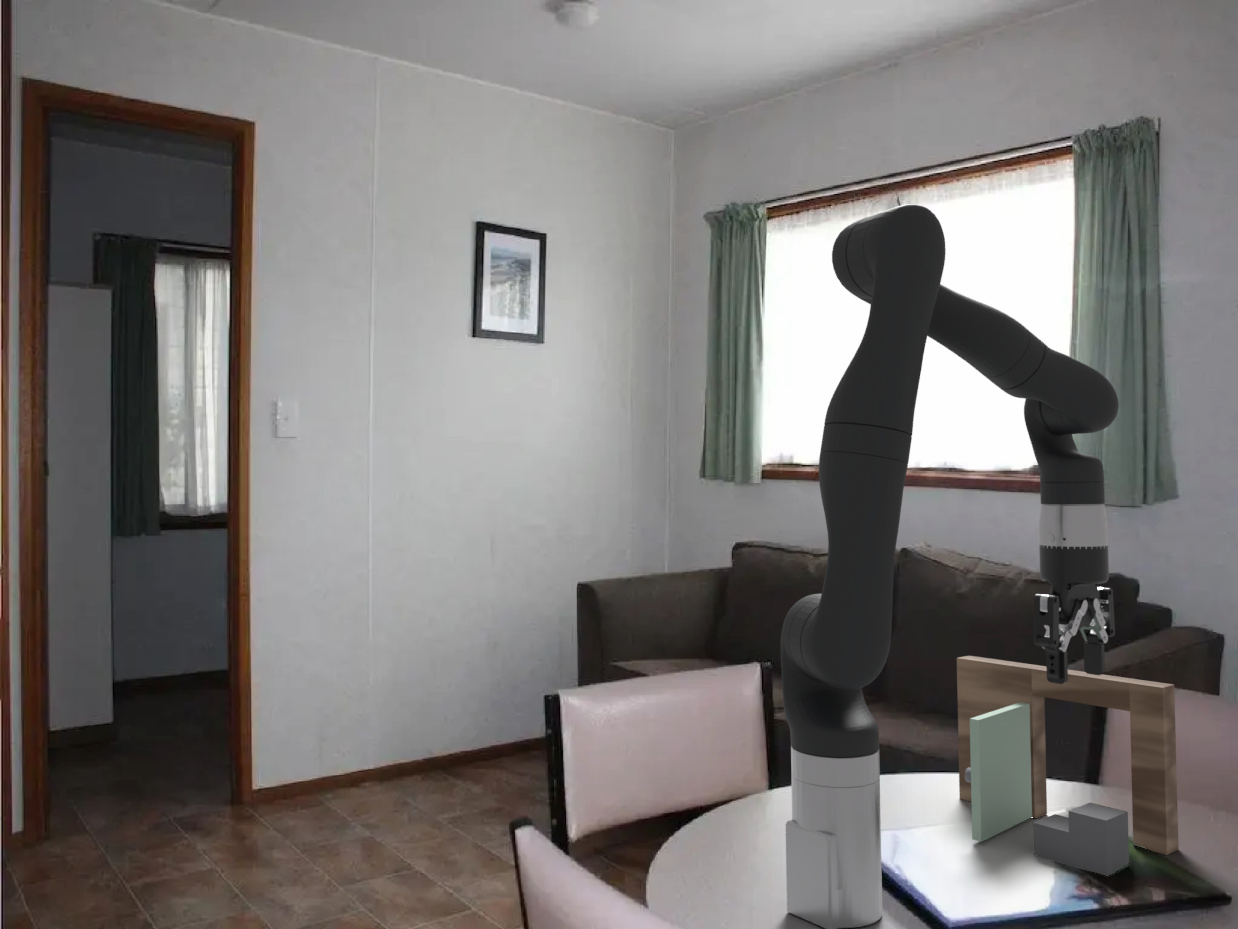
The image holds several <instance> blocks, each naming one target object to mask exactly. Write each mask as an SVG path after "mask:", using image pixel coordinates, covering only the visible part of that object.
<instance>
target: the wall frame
mask: <svg viewBox="0 0 1238 929" xmlns="http://www.w3.org/2000/svg"><path fill="white" fill-rule="evenodd" d="M956 684H957V689H956V690H957V691H956V692H957V693H956V694H957V731H958V733H957V734H958V736H957V738H958V781H959V783H958V784H959V786H958V787H959V799H960V800H962V801H965V802H966V801H967V802H971V783H970V782H966V780H965V771H966V769H967V768H968V767H970V768H971V756H970V718H973V717H976V716H979V715H982V714H986V713H989V712H992V711H995V710H998V709H1001V708H1004V707H1007V706H1010V705H1014V704H1017V703H1020V702H1023V703H1029V704H1030V749H1031V794H1032V817H1033V818H1037V819H1039V818H1041V817H1040V816H1042V817H1045V816H1047V815H1048V802H1047V801H1048V798H1047V793H1048V792H1047V761H1046V760H1047V759H1046V757H1047V754H1046V751H1047V750H1046V749H1047V748H1046V747H1047V746H1046V714H1045V713H1046V712H1045V711H1046V708H1045V706H1046V705H1045V698H1047V699H1048V698H1049V699H1053V700H1054V699H1055V700H1060V701H1065V702H1070V703H1071V702H1072V703H1078V704H1084V705H1089V706H1097V707H1102V708H1108V709H1113V710H1119V711H1125V712H1129V720H1130V721H1129V722H1130V723H1129V725H1130V762H1131V763H1130V764H1131V765H1130V766H1131V799H1132V801H1131V802H1132V803H1131V806H1132V842H1133V843H1135V844H1136V845H1138V846H1143V847H1145V848H1147V849H1149V850H1148V851H1150V850H1151V852H1153V853H1158V854H1162V855H1166V856H1169V855H1170V854H1172V853H1174V852H1176V851H1178V850H1179V820H1178V819H1179V818H1178V817H1179V816H1178V814H1179V813H1178V812H1179V811H1178V779H1177V776H1178V775H1177V741H1176V740H1177V738H1176V734H1177V733H1176V702H1175V698H1176V696H1175V695H1176V694H1175V684H1173V683H1165V682H1159V681H1153V680H1151V681H1150V680H1143V679H1137V678H1130V677H1125V676H1124V677H1122V676H1115V675H1109V674H1102V675H1093V674H1087V673H1086V672H1085V671H1083V670H1082V671H1081V670H1073V669H1068V681H1067V683H1064V684H1058V683H1051V682H1049V681H1048V680H1047V665H1046V666H1045V665H1039V664H1032V663H1031V664H1030V663H1026V662H1025V663H1023V662H1018V661H1009V660H1005V659H1004V660H1003V659H996V658H991V657H990V658H989V657H983V656H982V657H981V656H975V655H964V656H959V657H956ZM1046 814H1047V815H1046ZM1044 815H1045V816H1044ZM1038 817H1039V818H1038ZM1133 843H1132V844H1133Z"/></svg>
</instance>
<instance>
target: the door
mask: <svg viewBox="0 0 1238 929" xmlns="http://www.w3.org/2000/svg"><path fill="white" fill-rule="evenodd" d="M970 756H971V768H970V767H968V768H967V769H966V771H965V780H966V782H970V783H971V803H970V804H971V836H972V837H971V839H972V840H973V841H976V842H979V843H980V842H981V843H983V842H984V841H986V840H988V839H991V838H992V837H994V836H996V835H998V834H1000V833H1003V832H1004V831H1006V830H1008V829H1010V828H1013V827H1015V826H1016V825H1019V824H1021V823H1023V822H1024V821H1027V820H1029V819H1032V818H1031V817H1032V794H1031V749H1030V704H1029V703H1023V702H1020V703H1017V704H1014V705H1010V706H1007V707H1004V708H1001V709H998V710H995V711H992V712H989V713H986V714H982V715H979V716H976V717H973V718H970Z"/></svg>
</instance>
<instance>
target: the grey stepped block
mask: <svg viewBox="0 0 1238 929" xmlns="http://www.w3.org/2000/svg"><path fill="white" fill-rule="evenodd" d="M1067 812H1068V817H1067V816H1063V815H1060V814H1056V813H1055V814H1052V815H1050V816H1047V817H1044V818H1042V819H1039V820H1037V821H1034V822H1033V824H1032V826H1033V827H1032V834H1033V839H1032V840H1033V856H1036V857H1039V858H1043V859H1046V860H1048V861H1053V862H1056V863H1060V864H1063V865H1065V866H1070V867H1074V868H1076V867H1077V868H1076V869H1080V870H1083V871H1086V870H1087V872H1089V871H1094V872H1097V873H1100V874H1104V875H1106V876H1109V875H1110V874H1111V873H1113V872H1114V871H1117V870H1119V869H1120V868H1122V867H1123V866H1124V865H1127V864H1128V863H1129V864H1130V850H1129V849H1130V848H1129V845H1130V843H1129V840H1130V839H1129V811H1126V810H1123V809H1119V808H1114V807H1111V806H1105V805H1103V804H1098V803H1093V802H1088V803H1085V804H1082V805H1080V806H1077V807H1074V808H1072V809H1069V810H1067ZM1106 876H1105V877H1106ZM1109 877H1110V876H1109Z"/></svg>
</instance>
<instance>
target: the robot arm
mask: <svg viewBox="0 0 1238 929" xmlns="http://www.w3.org/2000/svg"><path fill="white" fill-rule="evenodd" d="M831 262H832V268H833V271H834V273H835V276H836V278H837V280H839V283H840V285H841V286H843V287H844V289H846V290H847V291H848V292H849V293H850V294H852V295H853V296H855V297H857V298H858V299H860V300H862V301H864V302H865V303H867V304H869V305H870V308H869V315H868V319H867V324H866V327H865V330H864V333H863V336H862V339H861V341H860V344H859V345H858V347H857V350H856V352H855V354H854V356H853V357H852V358H851V361H850V363H849V364H848V366H847V368H846V370H845V371H844V373H843V375H842V376H841V379H840V381H839V382H838V384H837V385H836V388H835V390H834V392H833V394H832V397H831V399H830V401H829V404H828V407H827V408H826V409H827V411H826V412H825V413H826V415H825V418H824V424H823V431H822V432H823V433H822V439H821V445H820V452H819V459H818V460H819V461H818V481H819V491H820V497H821V502H822V503H821V504H822V506H823V512H824V519H825V524H826V531H827V540H828V544H827V545H828V548H827V561H826V567H825V574H824V578H823V579H824V580H823V584H822V590H821V593H814V594H809V595H806V596H804V597H802V598H800V599H799V600H797V601H796V602H795V603H794V604H793V605H792V607H790V609H789V610H788V612H787V614H786V616H785V618H784V620H783V625H782V627H781V636H780V667H781V684H782V685H781V686H782V687H781V688H782V702H783V711H784V715H785V719H786V722H787V724H788V728H789V732H790V759H791V760H790V764H791V766H790V767H791V772H790V773H791V774H790V775H791V782H790V783H791V819H790V820H788V821H786V822H785V866H786V868H785V869H786V872H785V873H786V874H785V875H786V912H787V913H790V914H792V915H794V916H796V917H799V918H801V919H804V920H805V921H807V922H810V923H812V924H815V925H817V926H820V927H822V928H824V929H843V928H844V929H848V928H849V929H850V928H853V929H854V928H861V927H864V926H870V925H872V924H875V923H876V922H878V920H880V919H881V918H882V916H883V887H882V885H883V882H882V881H883V880H882V879H883V876H882V832H881V830H882V828H881V823H882V822H881V782H880V781H881V780H880V779H881V778H880V777H881V771H880V770H881V767H880V766H881V765H880V764H881V763H880V730H879V726H878V723H877V720H876V719H875V717H874V716H873V714H872V713H871V711H870V709H869V708H868V706H867V703H866V699H865V697H864V693H863V688H864V687H866V686H868V685H870V684H872V683H873V681H875V679H876V678H878V677H879V675H880V673H882V671H883V668H884V667H885V665H886V663H887V660H888V657H889V654H890V650H891V640H892V625H893V624H892V623H893V622H892V620H893V593H894V592H893V591H894V589H893V588H894V570H895V568H894V567H895V556H896V548H897V541H898V534H899V529H900V528H899V527H900V520H901V519H900V518H901V511H902V503H903V496H904V495H903V494H904V487H905V484H906V483H905V482H906V478H907V472H908V465H909V461H910V453H911V447H912V445H911V444H912V438H913V430H914V418H915V417H914V416H915V410H916V402H917V397H918V391H919V385H920V380H921V378H920V377H921V374H922V373H921V372H922V368H923V361H924V360H923V359H924V354H925V349H926V343H927V338H930V339H932V341H933V340H934V342H936V343H938V344H940V345H941V346H943V347H945V348H946V349H947V350H949V351H950V352H952V353H953V354H954V355H956V356H957V357H959V358H960V359H961V360H963V361H965V362H966V363H968V364H969V365H970V366H971V367H973V368H974V369H975V370H976V371H977V372H979V373H980V374H981V375H983V377H985V378H986V379H987V380H989V381H990V382H991V383H992V384H994V386H996V387H997V388H999V389H1001V390H1002V391H1003V392H1004V393H1006V394H1008V395H1009V396H1011V397H1014V398H1019V399H1025V400H1024V405H1023V417H1024V422H1025V427H1026V431H1027V433H1028V437H1029V440H1030V443H1031V447H1032V450H1033V451H1032V452H1033V453H1034V458H1035V460H1036V463H1037V467H1038V469H1039V482H1040V483H1039V486H1040V487H1039V488H1040V492H1039V493H1040V511H1039V512H1040V513H1039V517H1038V518H1039V520H1038V542H1039V544H1038V545H1039V546H1038V547H1039V548H1038V549H1039V578H1040V579H1041V580H1042V581H1043V582H1045V583H1049V584H1050V592H1049V594H1044V593H1043V594H1041V593H1036V594H1035V595H1034V597H1033V644H1034V645H1035V646H1037V647H1038V646H1039V647H1041V648H1042V649H1043V650H1045V655H1046V656H1045V658H1046V662H1045V663H1046V667H1047V680H1048V681H1049V682H1051V683H1058V684H1064V683H1067V681H1068V670H1069V668H1068V651H1067V649H1068V646H1069V643H1070V641H1071V638H1072V637H1074V636H1076V635H1077V632H1078V630H1079V631H1080V633H1081V635H1082V638H1083V639H1084V641H1085V642H1083V670H1084V672H1086V673H1087V674H1093V675H1102V674H1103V675H1105V673H1106V670H1105V668H1106V666H1105V663H1106V661H1105V644H1106V643H1108V641H1109V637H1110V638H1111V637H1114V636H1115V635H1116V625H1115V604H1114V602H1115V601H1114V590H1113V588H1111V587H1103V586H1098V585H1101V584H1106V583H1107V582H1108V581H1109V580H1110V579H1109V578H1110V572H1109V571H1110V567H1109V533H1108V532H1109V531H1108V528H1109V526H1108V519H1107V512H1106V506H1105V502H1106V501H1105V496H1106V495H1105V474H1104V465H1103V462H1102V460H1101V458H1099V457H1097V456H1094V455H1092V454H1086V453H1083V452H1080V451H1079V450H1078V448H1077V446H1076V443H1075V440H1074V437H1073V435H1075V434H1076V435H1077V434H1079V435H1080V434H1081V435H1082V434H1092V433H1097V432H1100V431H1102V430H1105V429H1107V428H1108V427H1110V426H1111V424H1112V423H1114V420H1115V419H1116V418H1117V415H1118V412H1119V397H1118V395H1117V392H1116V390H1115V388H1114V386H1113V385H1112V383H1111V382H1110V381H1109V379H1108V378H1107V377H1106V376H1105V375H1104V374H1102V373H1101V372H1099V371H1098V370H1096V369H1095V368H1093V367H1091V366H1089V365H1087V364H1086V363H1083V362H1081V361H1079V360H1077V359H1075V358H1073V357H1070V356H1069V355H1067V354H1064V353H1063V352H1059V351H1057V350H1055V349H1052V348H1050V347H1049V346H1048V345H1047V344H1046V343H1044V341H1043V340H1041V339H1040V338H1038V337H1037V336H1036V335H1035V334H1034V333H1033V332H1032V331H1031V330H1029V329H1028V328H1027V327H1026V326H1024V325H1023V324H1022V323H1021V322H1019V321H1017V320H1016V319H1015V318H1013V317H1012V316H1010V315H1008V314H1007V313H1005V312H1003V311H1001V310H999V309H997V308H995V307H993V306H991V305H988V304H986V303H983V302H981V301H977V300H976V299H973V298H971V297H969V296H966V295H964V294H961V293H959V292H956V291H955V290H952V289H950V288H949V287H947V286H945V285H943V284H942V283H941V282H942V277H943V273H944V267H945V262H946V238H945V234H944V230H943V227H942V225H941V223H940V221H939V219H938V217H937V216H936V214H935V213H934V212H932V210H931V209H929V208H928V207H926V206H924V205H922V204H921V205H920V204H918V203H917V204H916V203H908V204H902V205H899V206H894V207H891V208H888V209H885V210H882V211H879V212H877V213H874V214H872V215H869V216H866V217H864V218H863V217H862V218H861V219H858V220H856V221H854V222H852V223H851V224H849V225H847V226H846V227H845V228H843V229H842V230H841V232H839V234H837V237H836V238H835V240H834V243H833V246H832V251H831ZM1044 628H1045V634H1044Z"/></svg>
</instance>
